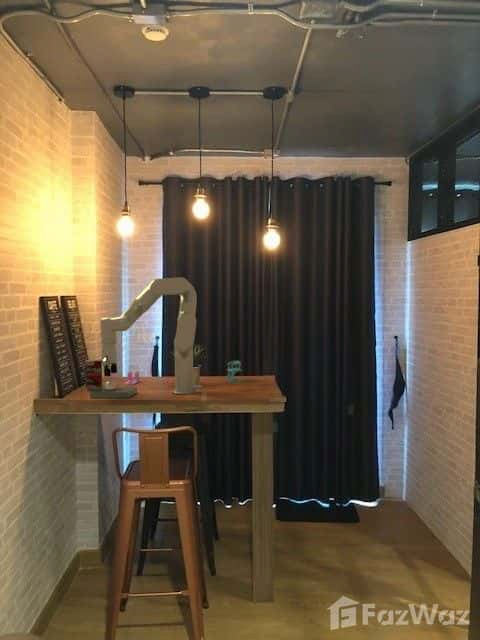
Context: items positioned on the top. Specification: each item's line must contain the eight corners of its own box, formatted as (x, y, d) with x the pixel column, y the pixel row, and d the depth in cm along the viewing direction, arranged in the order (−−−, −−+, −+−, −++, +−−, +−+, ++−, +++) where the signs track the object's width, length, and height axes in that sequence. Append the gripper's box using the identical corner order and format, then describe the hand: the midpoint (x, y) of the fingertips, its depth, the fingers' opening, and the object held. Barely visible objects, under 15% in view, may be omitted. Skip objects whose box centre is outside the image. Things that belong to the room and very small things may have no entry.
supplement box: (86, 390, 280) (85, 361, 279) (86, 388, 284) (85, 360, 283) (102, 389, 282) (101, 360, 281) (102, 387, 287) (101, 359, 286)
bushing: (116, 394, 267) (116, 381, 267) (113, 396, 262) (113, 382, 262) (107, 394, 267) (106, 380, 267) (103, 396, 262) (103, 382, 262)
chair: (225, 380, 304) (224, 360, 303) (238, 379, 307) (237, 359, 307) (230, 382, 297) (230, 362, 296) (243, 381, 300) (243, 361, 300)
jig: (136, 392, 271) (136, 387, 270) (128, 398, 257) (128, 392, 257) (100, 392, 272) (99, 386, 272) (90, 398, 259) (89, 392, 258)
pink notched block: (129, 382, 304) (129, 370, 304) (138, 382, 304) (138, 370, 304) (123, 386, 291) (123, 373, 291) (133, 386, 291) (133, 373, 291)
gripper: (107, 340, 272) (109, 372, 273) (95, 343, 255) (97, 377, 256) (121, 339, 271) (123, 371, 273) (110, 343, 254) (112, 377, 255)
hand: (110, 374), depth 264 cm, fingers open, 9 cm apart
